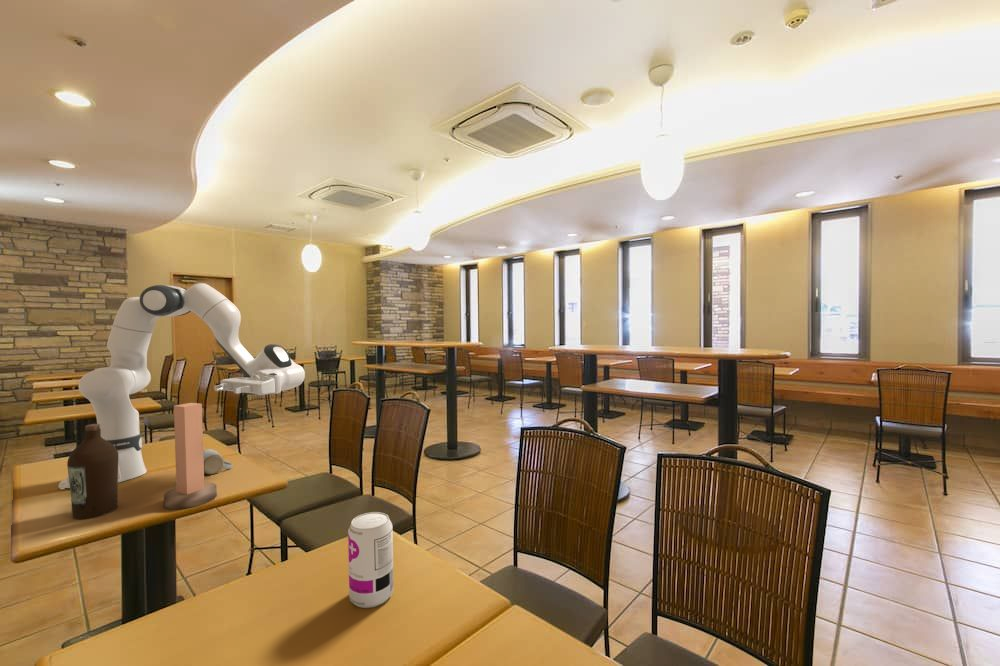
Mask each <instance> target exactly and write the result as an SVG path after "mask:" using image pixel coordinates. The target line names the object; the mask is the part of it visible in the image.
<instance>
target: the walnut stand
mask: <svg viewBox="0 0 1000 666" xmlns="http://www.w3.org/2000/svg"><path fill="white" fill-rule="evenodd" d="M217 495H218V491H217V484H216V483H214V482H206V481H204V489H202V490H199V491H196V492H193V493H190V494H183V493H178V492H177V488H176V487H174V488H172V489H169V490H167V491H166V492H165V493H164V494H163V507H164V508H165V509H167V508H169V509H168V510H184V509H190V508H194V507H199V506H202V505H205V504H207V503H209V502H211V500H212V499H213V500H214V499H216V498H217ZM215 497H216V498H215ZM213 500H212V501H213Z"/></svg>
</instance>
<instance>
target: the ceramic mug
mask: <svg viewBox="0 0 1000 666" xmlns="http://www.w3.org/2000/svg"><path fill="white" fill-rule="evenodd" d="M203 458H204V475H210V474H211V475H215V473H216V474H218V473H219V472H220V471H221V470H223V469H225V470H231V469H232V466H233V463H231V462H229V461H225V459H224V457H223V456H222V454H220V453H219V452H218V451H217V450H215V449H211V448H209V449H205V450H204V449H203ZM230 468H231V469H230Z"/></svg>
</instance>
